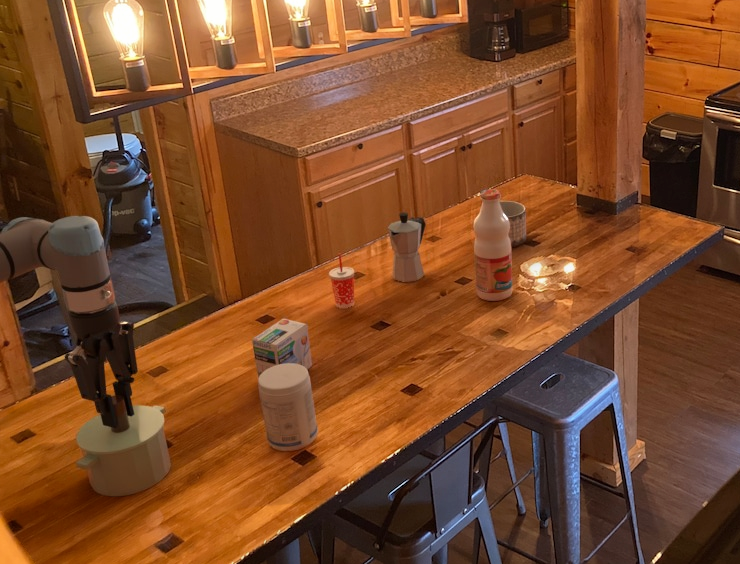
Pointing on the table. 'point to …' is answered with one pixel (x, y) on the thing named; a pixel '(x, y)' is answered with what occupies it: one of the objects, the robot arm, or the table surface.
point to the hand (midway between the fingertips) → (118, 419)
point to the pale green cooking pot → (128, 467)
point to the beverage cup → (343, 285)
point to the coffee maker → (407, 247)
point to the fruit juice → (492, 249)
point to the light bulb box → (282, 345)
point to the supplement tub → (288, 406)
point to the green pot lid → (120, 429)
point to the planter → (515, 221)
